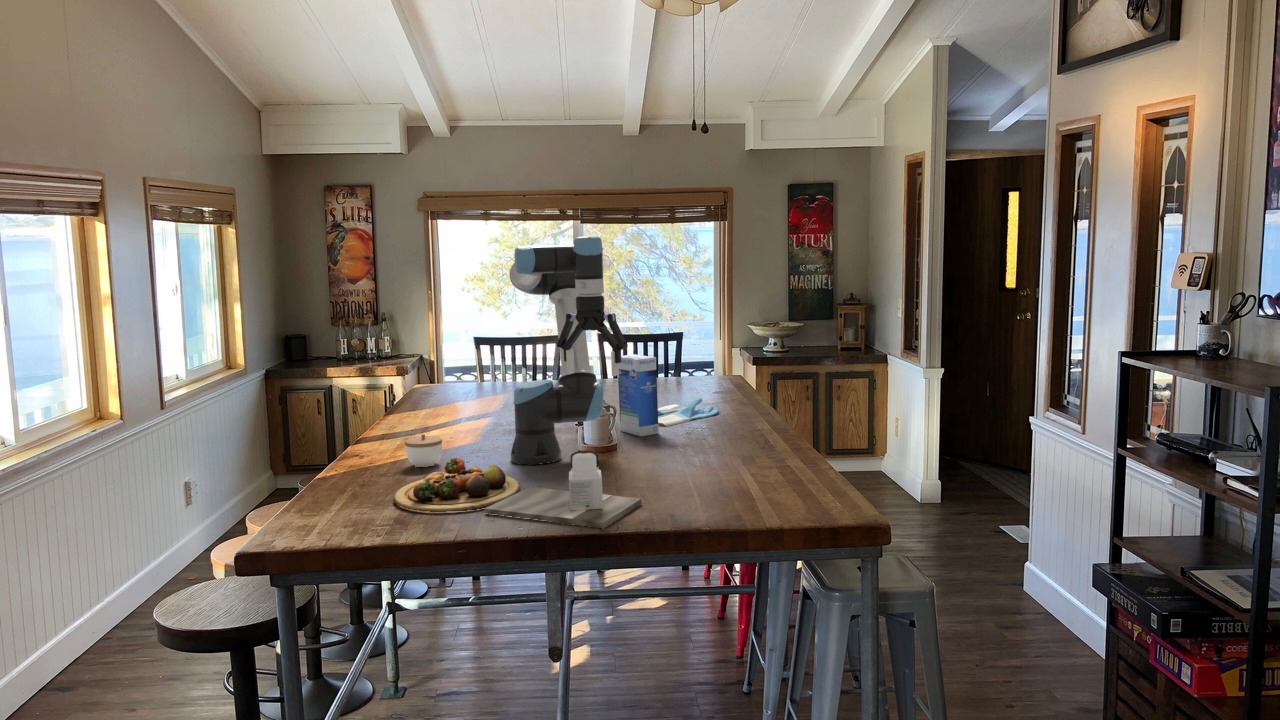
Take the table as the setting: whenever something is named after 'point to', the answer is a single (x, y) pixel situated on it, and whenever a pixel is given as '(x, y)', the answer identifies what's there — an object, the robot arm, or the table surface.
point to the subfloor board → (562, 508)
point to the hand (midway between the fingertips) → (592, 374)
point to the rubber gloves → (684, 413)
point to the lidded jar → (424, 450)
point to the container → (585, 481)
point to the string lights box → (638, 395)
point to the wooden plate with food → (457, 489)
